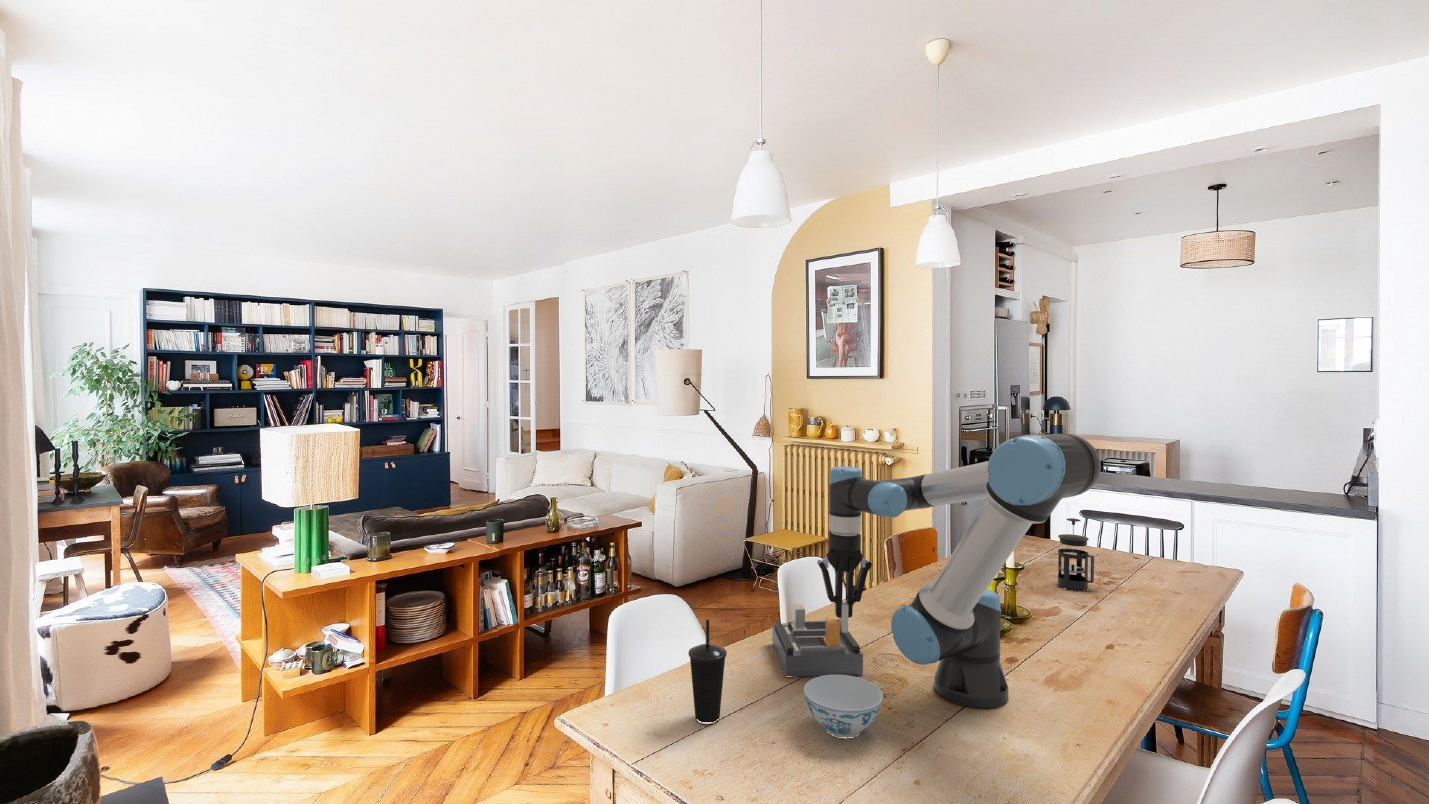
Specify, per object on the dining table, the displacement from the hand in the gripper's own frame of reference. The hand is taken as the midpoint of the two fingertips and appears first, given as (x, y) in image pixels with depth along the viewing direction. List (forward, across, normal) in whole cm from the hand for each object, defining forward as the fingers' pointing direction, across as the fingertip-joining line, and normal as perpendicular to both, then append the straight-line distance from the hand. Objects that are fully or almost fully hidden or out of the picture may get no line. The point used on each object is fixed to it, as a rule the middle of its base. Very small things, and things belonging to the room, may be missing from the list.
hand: (843, 630), depth 158 cm
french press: (+9, -92, -58) cm, 109 cm away
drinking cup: (+9, +34, +24) cm, 42 cm away
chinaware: (+9, +7, +30) cm, 32 cm away
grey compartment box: (+9, +6, -4) cm, 11 cm away
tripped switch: (+3, +3, 0) cm, 4 cm away
